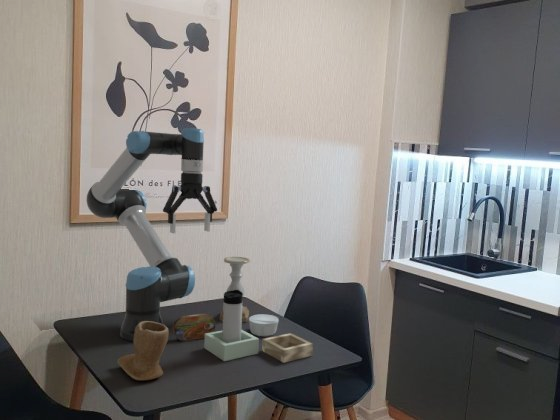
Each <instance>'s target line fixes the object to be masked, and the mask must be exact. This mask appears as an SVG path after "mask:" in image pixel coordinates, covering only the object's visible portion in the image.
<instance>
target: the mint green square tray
mask: <svg viewBox="0 0 560 420" xmlns="http://www.w3.org/2000/svg"><path fill="white" fill-rule="evenodd" d="M203 346H204V349H205V350H206V351H208V352H210V353H211V354H213V355H214V356H215V357H217V358H219V359H220V360H222V361H223V362H226V361H232V360H235V359H236V360H237V359H239V358H244V357H248V356H253V355H258V354H259V350H260V349H259V348H260V347H259V346H260V338H258V336H257V337H256V335H255V336H254V334H252V333H248V332H247V331H245V330H244V329H243V328H241V341H237V342H232V343H227V344H226V343H225V342H223V341H222V330H217V331H214V332H211V333H206V334H205V338H204V345H203Z"/></svg>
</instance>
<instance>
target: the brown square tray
mask: <svg viewBox="0 0 560 420" xmlns="http://www.w3.org/2000/svg"><path fill="white" fill-rule="evenodd" d="M261 340H262V342H261V344H262V345H261V347H262V348H261V352H262V351H263V352H264V353H265V354H267V355H269V356H271V357H272V358H274V359H276V360H278V361H280V362H282V363H288V362H293V361H297V360H300V359H304V358H308V357H313V350H314V343H312V342H310V341H308V340H306V339H304V338H302V337H300V336H298V335H295V334H293V333H291V332H289V333H285V334H279V335H276V336H271V337H270V336H269V337H266V338H262V339H261Z"/></svg>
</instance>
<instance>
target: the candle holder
mask: <svg viewBox="0 0 560 420" xmlns="http://www.w3.org/2000/svg"><path fill="white" fill-rule="evenodd" d="M223 262H224V263H227V264H229V266H230V268H231V272H230V273H229V276H230V278H231V282H230V284H229V285H228V287H227V289H226V291H225V292H227V291H233V290H240V292H242V293H243V296H245V288H244V287H243V285H242V282H241V279H242V278H243V276H244V274H243V273H242V268H243V266H244V265H245V264H248V263H250V259H249V258H247V257H242V256H228V257H225V258H224V259H223ZM243 303H244V302H243V299H242V304H243ZM249 317H250V309H248V307H247V306H244V305H242V323H247V322H249ZM218 320H219V322H223V309H222V310H221V312H220V314H219V319H218Z"/></svg>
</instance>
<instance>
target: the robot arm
mask: <svg viewBox="0 0 560 420" xmlns="http://www.w3.org/2000/svg"><path fill="white" fill-rule="evenodd" d="M126 137H127V138H126V140H125V144H126V145H125V146H126V148H125V149H124V151H122V152H121V154H120V155H119V156H118V158H117V159H116V161H114V163H113V164H112V165H111V167H110V168H109V169H108V170H107V172H105V174H104V175H103V177H102V178H101V179H100V180H99V181H97V182H94V184H92V185H91V186H90V188H89V190H88V191H87V194H86V205H87V207H88V210H89V211H90V212H91V213H92V214H93V215H95V216H96V217H98V218H103V219H108V218H109V219H110V218H114V219H116V220H117V222H118V224H119V225H121V226H123V227H125V228H126V229H127V231H128V233H129V235H130V236H131V237H132V239H133V241H134V242H135V243H136V246H137V247H138V249H139V251H140V252H141V253H142V255H143V257H144V259H145V261H146V262H147V263H148V265H149V266H141V267H138V268H135V269H132V270H130V271H129V272H128V273H127V276H126V279H125V280H126V282H125V315H124V317H123V320H122V324H121V326H120V332H119V336H120V338H121V339H123V340H125V341H130V342H133V340H134V333H135V328H136V326H137V325H138V324H139V323H140V322H142V321H153V322H157V323H161V324H163V325H164V321H163V319H162V316H161V310H160V309H161V303H163V302H167V301H172V300H176V299H182V298H184V297H187V296H189V295H191V294H192V293H193V291H194V289H195V286H196V283H195V282H196V277H195V272H194V270H193V268H192V267H191V266H190V265H186V264H183V265H182V264H181V262H180V261H179V259H178V258H177V257H175V256H174V257H172V256H171V253H170V252H169V251H168V249H167V247H166V245H165V243H163V241H162V240H161V238H160V236H159V235H158V233H157V232H156V230H155V228H154V227H153V226H152V224H151V222H150V221H149V219H148V218H147V216H146V212H147V202H146V201H147V199H146V196H145V194H144V193H143V192H142V191H141V190H140V191H138V190H139V189H138V190H129V189H121V188H124V185H126V184H127V182H128V180H129V179H131V177H132V176H133V175H134V174H135V173H136V171H137V170H138V169H140V167H141V165H142V164H143V163H144V162H145V161H146V159H148V158H149V156H151V155H167V156H173V155H174V156H181V158H180V159H181V162H180V163H181V164H180V165H181V167H180V170H181V174H180V185H179V186H178V185H172V187H171V188H172V189H171V193H170V195H169V196H168V198H167V200H166V203H165V204H164V207H163V208H162V212H163V213H165V214H167V223H168V224H169V233H171V234H176V219H177V217H176V216H177V214H175V213H176V211H177V210H178V209H179V208H180V206H181V205H182V204H183V202H184V201H186V200H191V199H193V200H198V202H199V204H201V206H202V207H203V209H204V210H205V212H204V226H203V227H204V230H203V231H204V232H208V233H209V232H210V231H211V223H212V222H213V214H214V213H216V212H217V211H218V208H217V206H216V203H215V200H214V198H213V195H212V193H211V187H210V186H208V185H205V186H203V177H204V176H203V174H202V173H203V170H204V169H203V168H204V166H203V165H204V144H205V143H204V142H205V138H204V131H203V129H201V128H196V127H194V128H193V127H189V128H188V127H185V128H183V129H182V130H181V133H179V134H178V133H167V132H156V131H155V132H154V131H153V132H152V131H145V130H133V131H131V132H129V133H128V134H127V136H126ZM179 192H181V193H180V194H179ZM202 192H203V194H204V196H205V198H206V200H205V198H204V196H203V194H202ZM178 194H179V196H178V198H177V195H178Z"/></svg>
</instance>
